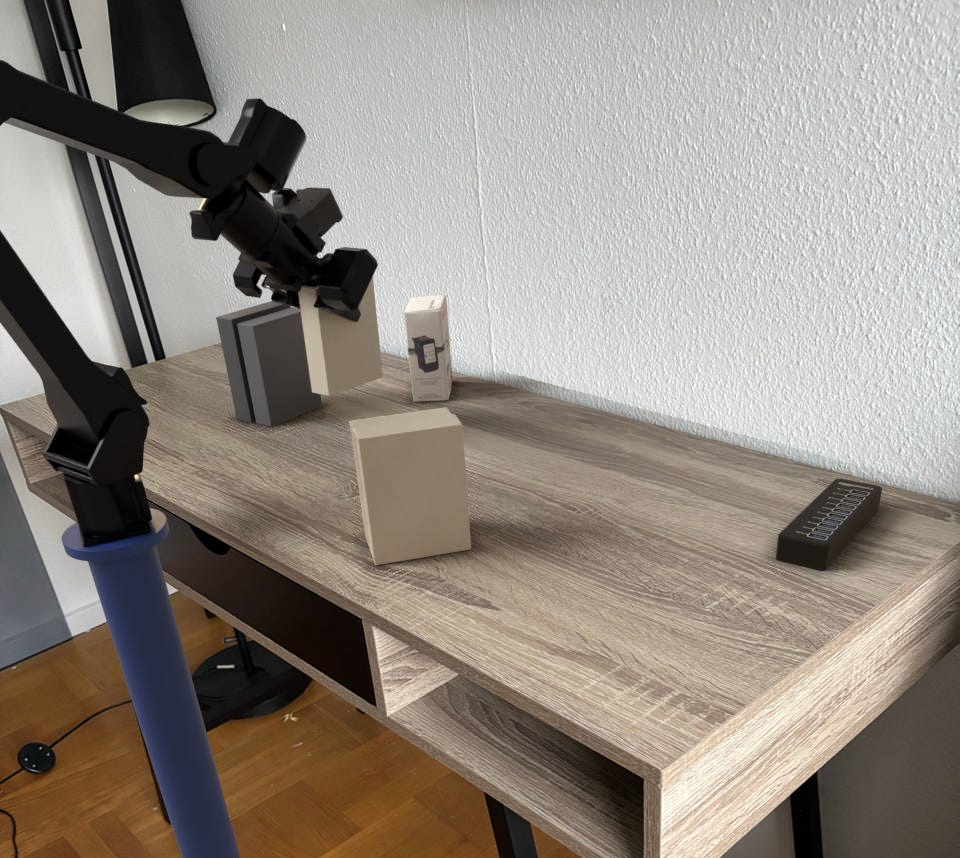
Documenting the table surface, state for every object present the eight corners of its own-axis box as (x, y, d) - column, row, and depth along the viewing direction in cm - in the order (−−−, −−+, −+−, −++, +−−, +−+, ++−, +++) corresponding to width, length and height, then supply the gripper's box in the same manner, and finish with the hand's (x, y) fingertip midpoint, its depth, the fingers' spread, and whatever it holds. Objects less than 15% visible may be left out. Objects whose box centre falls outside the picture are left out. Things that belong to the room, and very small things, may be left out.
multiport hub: (773, 559, 82) (776, 535, 81) (833, 499, 91) (836, 477, 90) (824, 571, 80) (827, 546, 78) (879, 508, 89) (883, 486, 88)
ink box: (418, 383, 132) (409, 295, 125) (453, 381, 131) (446, 293, 125) (412, 402, 124) (402, 310, 118) (449, 401, 124) (442, 308, 118)
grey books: (269, 427, 119) (250, 322, 113) (236, 419, 123) (215, 317, 116) (324, 405, 126) (309, 304, 119) (291, 398, 129) (274, 299, 122)
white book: (329, 396, 110) (315, 288, 104) (311, 392, 111) (296, 285, 105) (383, 377, 116) (372, 273, 109) (365, 373, 117) (354, 271, 111)
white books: (375, 565, 86) (358, 438, 79) (365, 536, 91) (348, 415, 84) (471, 549, 87) (462, 424, 81) (456, 521, 92) (446, 401, 86)
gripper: (353, 163, 93) (436, 261, 106) (234, 161, 103) (322, 250, 116) (305, 263, 92) (395, 350, 105) (190, 250, 102) (284, 331, 115)
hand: (348, 316), depth 110 cm, fingers closed on white book, 3 cm apart
